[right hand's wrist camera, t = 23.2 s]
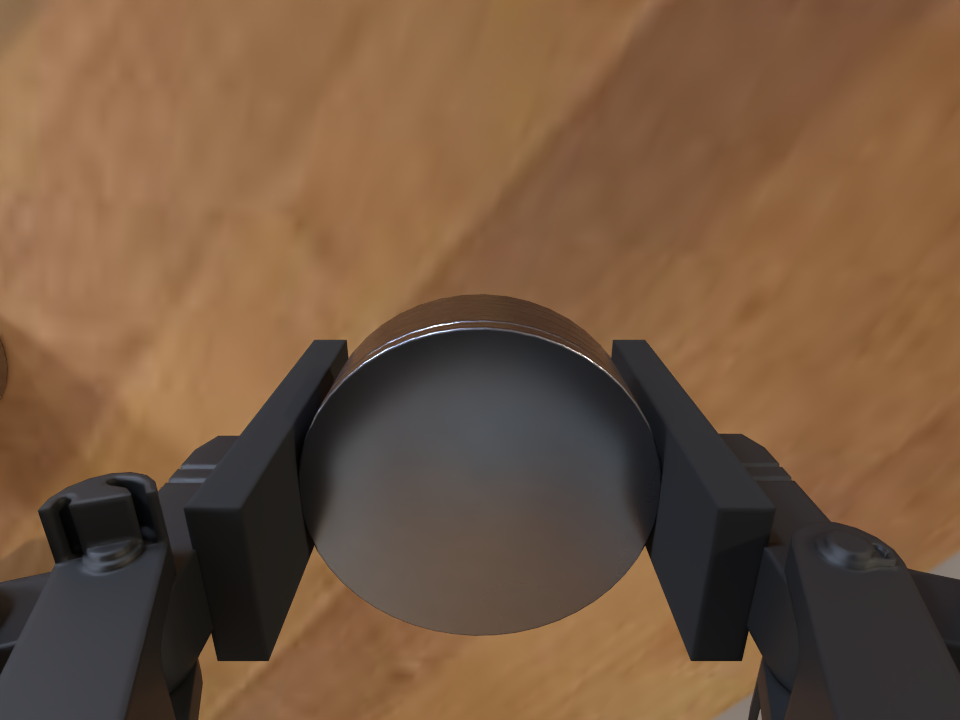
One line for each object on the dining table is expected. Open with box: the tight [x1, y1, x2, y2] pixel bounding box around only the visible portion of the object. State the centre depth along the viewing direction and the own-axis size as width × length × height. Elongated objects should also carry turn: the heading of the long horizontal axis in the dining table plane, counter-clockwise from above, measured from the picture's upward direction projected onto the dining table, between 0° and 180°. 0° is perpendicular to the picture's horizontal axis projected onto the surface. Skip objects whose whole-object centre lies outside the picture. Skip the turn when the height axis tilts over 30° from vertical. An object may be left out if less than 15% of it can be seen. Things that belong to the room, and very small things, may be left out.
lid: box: [298, 294, 661, 636], centre depth 11 cm, size 6×6×2 cm
